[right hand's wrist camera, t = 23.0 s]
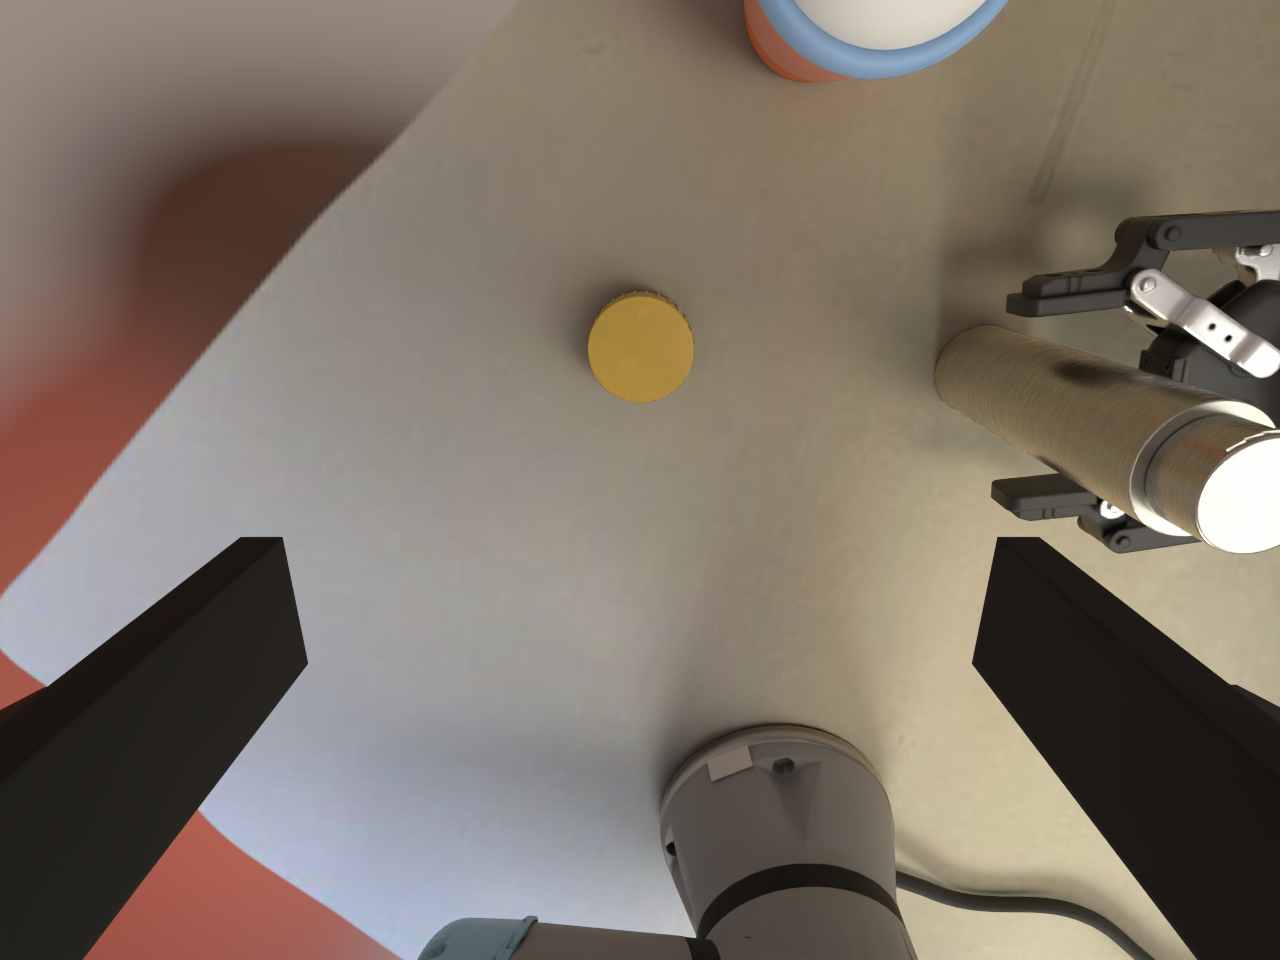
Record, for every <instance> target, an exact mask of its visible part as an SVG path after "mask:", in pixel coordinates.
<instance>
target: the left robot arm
mask: <svg viewBox="0 0 1280 960" xmlns="http://www.w3.org/2000/svg"><path fill="white" fill-rule="evenodd" d="M1115 241H1116V243H1117V246H1116V249H1115V251H1114V253H1113V255H1112V256H1111V258H1110V259H1109V260H1108V261H1107V262H1106V263H1105V264H1103V265H1102V266H1100V267H1097V268H1093V269H1085V270H1076V271H1068V272H1061V273H1051V274H1042V275H1035V276H1033V277H1031V278H1029V279H1027V280H1025V281H1023V287H1022V293H1013V294H1008V295H1007V303H1006V312H1007V313H1011V314H1014V315H1018V316H1022V317H1044V316H1052V315H1061V314H1070V313H1078V312H1087V311H1096V310H1104V309H1113V308H1120V309H1122V310H1123V311H1125V316H1126V317H1128V318H1129V319H1131V320H1132V321H1133V322H1135V323H1136V324H1138V325H1139V326H1140V327H1142V328H1143V329H1145V330H1146V331H1148V332H1149V333H1150V334H1152V335H1153V336H1155V337H1156V338H1155V339H1154V341H1153V342H1152V343H1151V345H1150V347H1149V349H1148V350H1141V356H1140V363H1139V370H1142V371H1146V372H1149V373H1152V374H1156V375H1159V376H1162V377H1165V378H1169V379H1172V380H1175V381H1179V382H1182V383H1185V384H1188V385H1192V386H1195V387H1198V388H1202V389H1205V390H1208V391H1211V392H1215V393H1218V394H1221V395H1225V396H1228V397H1231V398H1234V399H1238V400H1241V401H1244V402H1247V403H1250V404H1253V405H1255V406H1256V407H1258V408H1260V409H1261V410H1263V411H1264V412H1265V413H1266V414H1267V415H1268V416H1269V417H1270V418H1271V419H1272V421H1273V422H1274V424H1275V426H1276V427H1277V428H1280V209H1271V210H1240V211H1224V212H1208V213H1192V214H1176V215H1160V216H1144V217H1131V218H1127V219H1125V220H1124V221H1122V222H1121V223H1120V224H1119V226H1118V227H1117V229H1116V231H1115ZM1207 248H1212V251H1213V253H1215V254H1217V257H1218V259H1219V260H1220V261H1221V262H1222V263H1225V264H1231V265H1234V266H1235V267H1236V268H1237V269H1238V272H1239V279H1237V280H1234V281H1232V282H1230V283H1228V284H1226V285H1225V286H1223V287H1222V288H1220V289H1219V290H1218V291H1216V292H1215V293H1214V294H1212V295H1211V296H1210V297H1208V298H1207V299H1206V300H1205V299H1203V298H1201V297H1198V296H1196V295H1193V294H1191V293H1189V292H1187V291H1186V290H1184V289H1183V288H1182V287H1180V286H1179V285H1177V284H1176V283H1175V282H1173V281H1172V280H1171V279H1169V278H1168V277H1166V276H1165V275H1164V274H1162V273H1161V272H1160V271H1161V269H1162V267H1163V265H1164V263H1165V261H1166V259H1167V257H1168V255H1169V253H1170V251H1174V250H1190V249H1207ZM991 498H992V499H994V500H995V501H996V502H997V503H999V504H1000V505H1001V506H1002V507H1004V508H1005V509H1007V510H1009V511H1010V512H1012V513H1013V514H1014V515H1015V516H1017V517H1018V518H1020V519H1024V520H1028V521H1035V520H1042V519H1051V518H1053V519H1054V518H1064V517H1074V516H1079V517H1078V520H1077V523H1078V526H1079V528H1081V529H1082V530H1083V531H1085V532H1086V533H1088V534H1090V535H1092V536H1093V537H1095V538H1096V539H1097V540H1099V541H1100V542H1102V543H1103V544H1104V545H1105V546H1106V547H1107V548H1109V549H1110V550H1112V551H1113V552H1115V553H1119V554H1121V553H1128V552H1135V551H1142V550H1149V549H1155V548H1162V547H1169V546H1176V545H1182V544H1189V543H1196V542H1203V541H1201V540H1199V539H1197V538H1196V537H1194V536H1184V537H1183V536H1171V535H1166V534H1162V533H1160V532H1157V531H1155V530H1153V529H1151V528H1149V527H1147V526H1146V525H1144V524H1142V523H1141V522H1139V521H1138V520H1136V519H1134V518H1133V517H1131V516H1129V515H1128V514H1126V513H1124V512H1123V511H1121V510H1119V509H1118V508H1116V507H1115V506H1113V505H1111V504H1110V503H1108V502H1106V501H1105V500H1103V499H1101V498H1100V497H1098V496H1097V495H1095V494H1093V493H1092V492H1090V491H1088V490H1087V489H1085V488H1083V487H1082V486H1080V485H1078V484H1077V483H1075V482H1074V481H1072V480H1070V479H1069V478H1067V477H1065V476H1064V475H1062V474H1060V473H1057V474H1047V475H1038V476H1028V477H1019V478H1009V479H1000V480H995V481H993V482H992V488H991Z"/></svg>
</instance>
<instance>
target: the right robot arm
mask: <svg viewBox="0 0 1280 960" xmlns="http://www.w3.org/2000/svg"><path fill="white" fill-rule="evenodd" d="M307 664H308V661H307V656H306V651H305V646H304V641H303V636H302V631H301V626H300V621H299V616H298V611H297V606H296V601H295V596H294V591H293V586H292V581H291V577H290V572H289V567H288V562H287V557H286V552H285V547H284V542H283V537H240V538H239V539H238V540H236V541H235V542H234V543H232V544H231V545H230V546H229V547H227V548H226V549H225V550H223V551H222V552H221V553H220V554H218V555H217V556H216V557H214V558H213V559H212V560H211V561H209V562H208V563H207V564H205V565H204V566H203V567H202V568H200V569H199V570H198V571H196V572H195V573H194V574H192V575H191V576H190V577H189V578H187V579H186V580H185V581H183V582H182V583H181V584H180V585H178V586H177V587H176V588H174V589H173V590H172V591H171V592H169V593H168V594H167V595H165V596H164V597H163V598H161V599H160V600H159V601H158V602H156V603H155V604H154V605H152V606H151V607H150V608H149V609H147V610H146V611H145V612H143V613H142V614H141V615H140V616H138V617H137V618H136V619H134V620H133V621H132V622H130V623H129V624H128V625H127V626H125V627H124V628H123V629H121V630H120V631H119V632H118V633H116V634H115V635H114V636H112V637H111V638H110V639H109V640H107V641H106V642H105V643H103V644H102V645H101V646H100V647H98V648H97V649H96V650H94V651H93V652H92V653H90V654H89V655H88V656H87V657H85V658H84V659H83V660H81V661H80V662H79V663H78V664H76V665H75V666H74V667H72V668H71V669H70V670H69V671H67V672H66V673H65V674H63V675H62V676H61V677H59V678H58V679H57V680H56V681H54V682H53V683H52V684H50V685H49V686H48V687H44V688H42V689H40V690H38V691H36V692H34V693H32V694H31V695H29V696H27V697H25V698H23V699H21V700H19V701H17V702H15V703H13V704H11V705H9V706H7V707H5V708H4V709H2V710H0V960H83V959H84V957H85V956H86V955H87V953H88V952H89V951H90V949H91V948H92V947H93V945H94V944H95V943H96V942H97V940H98V939H99V938H100V936H101V935H102V934H103V932H104V931H105V930H106V928H107V927H108V926H109V924H110V923H111V922H112V921H113V919H114V918H115V917H116V915H117V914H118V913H119V911H120V910H121V909H122V907H123V906H124V905H125V903H126V902H127V901H128V899H129V898H130V897H131V896H132V894H133V893H134V892H135V890H136V889H137V888H138V886H139V885H140V884H141V882H142V881H143V880H144V879H145V877H146V876H147V874H148V873H149V872H150V871H151V869H152V868H153V867H154V865H155V864H156V863H157V861H158V860H159V859H160V858H161V856H162V855H163V854H164V852H165V851H166V850H167V848H168V847H169V846H170V844H171V843H172V842H173V840H174V839H175V838H176V836H177V835H178V834H179V833H180V831H181V830H182V829H183V827H184V826H185V825H186V823H187V822H188V821H189V819H190V818H191V817H192V815H193V814H194V813H195V812H196V810H197V809H198V808H199V806H200V805H201V804H202V802H203V801H204V800H205V798H206V797H207V796H208V794H209V793H210V792H211V791H212V789H213V788H214V787H215V785H216V784H217V783H218V781H219V780H220V779H221V777H222V776H223V775H224V773H225V772H226V771H227V770H228V768H229V767H230V766H231V764H232V763H233V762H234V760H235V759H236V758H237V756H238V755H239V754H240V752H241V751H242V750H243V749H244V747H245V746H246V745H247V743H248V742H249V741H250V739H251V738H252V737H253V735H254V734H255V733H256V731H257V730H258V729H259V728H260V726H261V725H262V724H263V722H264V721H265V720H266V718H267V717H268V716H269V714H270V713H271V712H272V710H273V709H274V708H275V707H276V705H277V704H278V703H279V701H280V700H281V699H282V697H283V696H284V695H285V693H286V692H287V691H288V689H289V688H290V687H291V686H292V684H293V683H294V682H295V680H296V679H297V678H298V676H299V675H300V674H301V672H302V671H303V670H304V668H305V667H306V666H307ZM972 664H973V666H974V667H975V668H976V670H977V671H978V672H979V674H980V675H981V676H982V678H983V679H984V680H985V682H986V683H987V684H988V686H989V687H990V688H991V689H992V691H993V692H994V693H995V695H996V696H997V697H998V699H999V700H1000V701H1001V703H1002V704H1003V705H1004V707H1005V708H1006V709H1007V710H1008V712H1009V713H1010V714H1011V716H1012V717H1013V718H1014V720H1015V721H1016V722H1017V724H1018V725H1019V726H1020V728H1021V729H1022V730H1023V731H1024V733H1025V734H1026V735H1027V737H1028V738H1029V739H1030V741H1031V742H1032V743H1033V745H1034V746H1035V747H1036V749H1037V750H1038V751H1039V752H1040V754H1041V755H1042V756H1043V758H1044V759H1045V760H1046V762H1047V763H1048V764H1049V766H1050V767H1051V768H1052V770H1053V771H1054V772H1055V773H1056V775H1057V776H1058V777H1059V779H1060V780H1061V781H1062V783H1063V784H1064V785H1065V787H1066V788H1067V789H1068V791H1069V792H1070V793H1071V794H1072V796H1073V797H1074V798H1075V800H1076V801H1077V802H1078V804H1079V805H1080V806H1081V808H1082V809H1083V810H1084V812H1085V813H1086V814H1087V816H1088V817H1089V818H1090V819H1091V821H1092V822H1093V823H1094V825H1095V826H1096V827H1097V829H1098V830H1099V831H1100V833H1101V834H1102V835H1103V837H1104V838H1105V839H1106V840H1107V842H1108V843H1109V844H1110V846H1111V847H1112V848H1113V850H1114V851H1115V852H1116V854H1117V855H1118V856H1119V858H1120V859H1121V860H1122V861H1123V863H1124V864H1125V865H1126V867H1127V868H1128V869H1129V871H1130V872H1131V873H1132V875H1133V876H1134V877H1135V879H1136V880H1137V881H1138V882H1139V884H1140V885H1141V886H1142V888H1143V889H1144V890H1145V892H1146V893H1147V894H1148V896H1149V897H1150V898H1151V900H1152V901H1153V902H1154V903H1155V905H1156V906H1157V907H1158V909H1159V910H1160V911H1161V913H1162V914H1163V915H1164V917H1165V918H1166V919H1167V921H1168V922H1169V923H1170V924H1171V926H1172V927H1173V928H1174V930H1175V931H1176V932H1177V934H1178V935H1179V936H1180V938H1181V939H1182V940H1183V942H1184V943H1185V944H1186V946H1187V947H1188V948H1189V949H1190V951H1191V952H1192V953H1193V955H1194V956H1195V957H1196V959H1197V960H1280V707H1279V706H1277V705H1275V704H1273V703H1271V702H1269V701H1267V700H1265V699H1263V698H1261V697H1259V696H1257V695H1255V694H1253V693H1251V692H1249V691H1248V690H1246V689H1244V688H1242V687H1240V686H1238V685H1230V684H1228V683H1227V682H1226V681H1224V680H1223V679H1222V678H1221V677H1219V676H1218V675H1217V674H1215V673H1214V672H1213V671H1211V670H1210V669H1209V668H1208V667H1206V666H1205V665H1204V664H1202V663H1201V662H1200V661H1199V660H1197V659H1196V658H1195V657H1193V656H1192V655H1191V654H1190V653H1188V652H1187V651H1186V650H1184V649H1183V648H1182V647H1180V646H1179V645H1178V644H1177V643H1175V642H1174V641H1173V640H1171V639H1170V638H1169V637H1168V636H1166V635H1165V634H1164V633H1162V632H1161V631H1160V630H1159V629H1157V628H1156V627H1155V626H1153V625H1152V624H1151V623H1150V622H1148V621H1147V620H1146V619H1144V618H1143V617H1142V616H1140V615H1139V614H1138V613H1137V612H1135V611H1134V610H1133V609H1131V608H1130V607H1129V606H1128V605H1126V604H1125V603H1124V602H1122V601H1121V600H1120V599H1119V598H1117V597H1116V596H1115V595H1113V594H1112V593H1111V592H1109V591H1108V590H1107V589H1106V588H1104V587H1103V586H1102V585H1100V584H1099V583H1098V582H1097V581H1095V580H1094V579H1093V578H1091V577H1090V576H1089V575H1088V574H1086V573H1085V572H1084V571H1082V570H1081V569H1080V568H1078V567H1077V566H1076V565H1075V564H1073V563H1072V562H1071V561H1069V560H1068V559H1067V558H1066V557H1064V556H1063V555H1062V554H1060V553H1059V552H1058V551H1057V550H1055V549H1054V548H1053V547H1051V546H1050V545H1049V544H1048V543H1046V542H1045V541H1044V540H1042V539H1041V538H1040V537H997V542H996V547H995V552H994V557H993V562H992V567H991V572H990V577H989V581H988V586H987V591H986V596H985V601H984V606H983V611H982V616H981V621H980V626H979V631H978V636H977V641H976V646H975V651H974V656H973V661H972ZM660 822H661V841H662V847H663V851H664V855H665V859H666V862H667V865H668V868H669V870H670V873H671V875H672V878H673V880H674V883H675V885H676V887H677V890H678V892H679V895H680V897H681V900H682V902H683V904H684V907H685V909H686V912H687V914H688V916H689V919H690V921H691V924H692V926H693V929H694V931H695V933H696V938H689V937H683V936H676V935H665V934H655V933H644V932H634V931H623V930H613V929H602V928H592V927H581V926H570V925H560V924H549V923H539V922H538V918H537V916H527V917H526V918H524V919H523V920H516V919H490V918H463V919H460V920H456V921H453V922H451V923H449V924H448V925H446V926H445V927H443V928H442V929H441V930H440V931H438V932H437V933H436V934H435V935H434V937H433V938H432V939H431V940H430V941H429V943H428V944H427V945H426V947H425V948H424V950H423V951H422V952H421V954H420V956H419V958H418V959H417V960H918V958H917V956H916V953H915V950H914V948H913V945H912V943H911V940H910V937H909V935H908V932H907V930H906V927H905V924H904V922H903V919H902V916H901V914H900V911H899V908H898V905H897V901H896V887H898V888H901V889H904V890H907V891H910V892H913V893H916V894H919V895H921V896H924V897H927V898H929V899H932V900H934V901H937V902H940V903H943V904H946V905H949V906H953V907H958V908H962V909H969V910H976V911H988V912H1032V913H1047V914H1055V915H1060V916H1065V917H1068V918H1072V919H1075V920H1078V921H1081V922H1083V923H1086V924H1088V925H1090V926H1092V927H1094V928H1096V929H1098V930H1099V931H1101V932H1103V933H1104V934H1105V935H1107V936H1108V937H1110V938H1111V939H1112V940H1113V941H1114V942H1116V943H1117V944H1118V945H1119V946H1120V947H1121V948H1122V949H1123V950H1125V951H1126V952H1127V953H1128V954H1129V955H1130V956H1131V957H1132V958H1134V959H1135V960H1154V959H1153V958H1152V957H1151V956H1150V955H1149V954H1147V953H1146V952H1145V951H1144V950H1143V949H1141V948H1140V947H1139V946H1138V945H1137V944H1136V943H1135V942H1134V941H1133V940H1132V939H1130V938H1129V937H1128V936H1127V935H1126V934H1125V933H1124V932H1123V931H1121V930H1120V929H1119V928H1118V927H1117V926H1116V925H1114V924H1113V923H1112V922H1110V921H1109V920H1107V919H1106V918H1105V917H1103V916H1101V915H1099V914H1098V913H1096V912H1094V911H1092V910H1089V909H1087V908H1085V907H1082V906H1079V905H1077V904H1073V903H1070V902H1066V901H1062V900H1057V899H1050V898H1040V897H999V896H980V895H971V894H965V893H960V892H956V891H952V890H949V889H946V888H943V887H940V886H937V885H935V884H932V883H930V882H927V881H925V880H922V879H919V878H916V877H914V876H911V875H908V874H905V873H902V872H899V871H896V870H895V852H894V822H893V816H892V812H891V807H890V803H889V800H888V797H887V794H886V792H885V790H884V787H883V785H882V783H881V780H880V778H879V776H878V774H877V772H876V771H875V769H874V768H873V766H872V765H871V763H870V762H869V761H868V760H867V759H866V757H864V756H863V755H862V754H861V753H860V752H859V751H858V750H857V749H855V748H854V747H853V746H851V745H850V744H848V743H846V742H845V741H843V740H841V739H839V738H837V737H835V736H833V735H830V734H827V733H825V732H822V731H818V730H814V729H810V728H805V727H798V726H785V725H775V726H763V727H755V728H750V729H746V730H742V731H738V732H735V733H732V734H729V735H727V736H724V737H722V738H719V739H717V740H715V741H713V742H711V743H710V744H708V745H706V746H705V747H703V748H701V749H700V750H699V751H697V752H696V753H695V754H693V755H692V756H691V757H690V758H689V759H688V760H686V761H685V762H684V763H683V765H682V766H681V767H680V768H679V769H678V770H677V772H676V773H675V774H674V776H673V777H672V779H671V780H670V782H669V784H668V786H667V788H666V791H665V793H664V796H663V800H662V804H661V814H660Z"/></svg>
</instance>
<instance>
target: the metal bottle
mask: <svg viewBox="0 0 1280 960" xmlns="http://www.w3.org/2000/svg"><path fill="white" fill-rule="evenodd" d="M935 383H936V388H937V391H938V393H939V395H940V396H941V398H942V399H943V400H944V401H945V402H946V403H947V404H948V405H949V406H951V407H952V408H954V409H955V410H957V411H959V412H960V413H962V414H964V415H965V416H967V417H969V418H970V419H972V420H973V421H975V422H977V423H978V424H980V425H982V426H983V427H985V428H987V429H988V430H990V431H992V432H993V433H995V434H996V435H998V436H1000V437H1001V438H1003V439H1005V440H1006V441H1008V442H1010V443H1011V444H1013V445H1014V446H1016V447H1018V448H1019V449H1021V450H1023V451H1024V452H1026V453H1028V454H1029V455H1031V456H1033V457H1034V458H1036V459H1037V460H1039V461H1041V462H1042V463H1044V464H1046V465H1047V466H1049V467H1051V468H1052V469H1054V470H1055V471H1057V472H1059V473H1060V474H1062V475H1064V476H1065V477H1067V478H1069V479H1070V480H1072V481H1074V482H1075V483H1077V484H1078V485H1080V486H1082V487H1083V488H1085V489H1087V490H1088V491H1090V492H1092V493H1093V494H1095V495H1097V496H1098V497H1100V498H1101V499H1103V500H1105V501H1106V502H1108V503H1110V504H1111V505H1113V506H1115V507H1116V508H1118V509H1119V510H1121V511H1123V512H1124V513H1126V514H1128V515H1129V516H1131V517H1133V518H1134V519H1136V520H1138V521H1139V522H1141V523H1142V524H1144V525H1146V526H1147V527H1149V528H1151V529H1153V530H1155V531H1157V532H1160V533H1162V534H1166V535H1171V536H1183V537H1184V536H1194V537H1196V538H1197V539H1199V540H1201V541H1203V542H1204V543H1206V544H1208V545H1210V546H1211V547H1213V548H1215V549H1217V550H1220V551H1223V552H1226V553H1232V554H1252V553H1258V552H1262V551H1266V550H1269V549H1272V548H1274V547H1277V546H1279V545H1280V428H1277V427H1276V426H1275V424H1274V422H1273V421H1272V419H1271V418H1270V417H1269V416H1268V415H1267V414H1266V413H1265V412H1264V411H1263V410H1261V409H1260V408H1258V407H1256V406H1255V405H1253V404H1250V403H1247V402H1244V401H1241V400H1238V399H1234V398H1231V397H1228V396H1225V395H1221V394H1218V393H1215V392H1211V391H1208V390H1205V389H1202V388H1198V387H1195V386H1192V385H1188V384H1185V383H1182V382H1179V381H1175V380H1172V379H1169V378H1165V377H1162V376H1159V375H1156V374H1152V373H1149V372H1146V371H1142V370H1139V369H1136V368H1133V367H1129V366H1126V365H1123V364H1119V363H1116V362H1113V361H1110V360H1106V359H1103V358H1100V357H1096V356H1093V355H1090V354H1087V353H1083V352H1080V351H1077V350H1073V349H1070V348H1067V347H1064V346H1060V345H1057V344H1054V343H1050V342H1047V341H1044V340H1041V339H1037V338H1034V337H1031V336H1027V335H1024V334H1021V333H1018V332H1014V331H1011V330H1008V329H1004V328H1001V327H997V326H991V325H984V326H977V327H973V328H970V329H968V330H966V331H964V332H962V333H960V334H959V335H957V336H956V337H955V338H953V339H952V340H951V341H950V342H949V343H948V345H947V346H946V347H945V348H944V350H943V351H942V353H941V355H940V357H939V359H938V362H937V365H936V369H935Z"/></svg>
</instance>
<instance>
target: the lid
mask: <svg viewBox="0 0 1280 960" xmlns="http://www.w3.org/2000/svg"><path fill="white" fill-rule="evenodd" d="M594 321H595V323H594V325H592V326H591V329H590V331H589V332H591V333H590V337H589V339H588V341H587V344H588V353H587V355H588V357H589V362H590V367H591V368H592V371H593V373H594V375H595V377H596V378H597V380H598V381H599V382H600V384H601V385H602V386H603V387H604V388H605V389H606V390H608V391H609V392H610V393H611V394H613V395H615V396H617V397H619V398H621V399H624V400H627V401H631V402H650V401H655V400H658V399H661V398H663V397H665V396H667V395H669V394H670V393H671V392H673V391H674V390H675V389H676V388H677V387H679V386H680V384H681V383H682V382H683V381H684V379H685V378H686V376H687V374H688V372H689V370H690V368H691V364H692V361H693V356H694V344H695V342H694V340H693V338H692V334H691V333H692V329H691V327H690V325H688V324H687V321H688V320H687V318H686V316H685V315H683V314H682V313H681V311H680V309H679V306H678V305H677V306H675V305H674V304H673V303H672V302H671V301H670V299H669V298H668V299H666V298H665V297H663V296H660V294H659V293H657V294H655V293H651V292H648V290H646V292H643V291H638V292H636V290H634V292H631V293H627V294H625V293H623V294H622V295H621V296H619V297H617V298H612V301H611V302H610V303H608V304H607V305H606V306H605V305H604V306H603V308H602V311H601V312H600V314H599V315H598V314H597V316H596V318H595V320H594Z"/></svg>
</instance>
